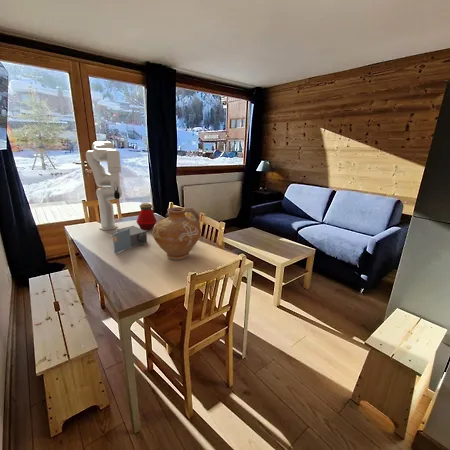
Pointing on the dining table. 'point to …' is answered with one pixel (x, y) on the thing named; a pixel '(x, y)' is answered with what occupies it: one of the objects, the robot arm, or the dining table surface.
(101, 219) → the robot arm
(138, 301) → the dining table surface
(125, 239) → the side door
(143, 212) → the bottle
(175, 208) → the jug
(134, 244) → the box
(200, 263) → the dining table surface
